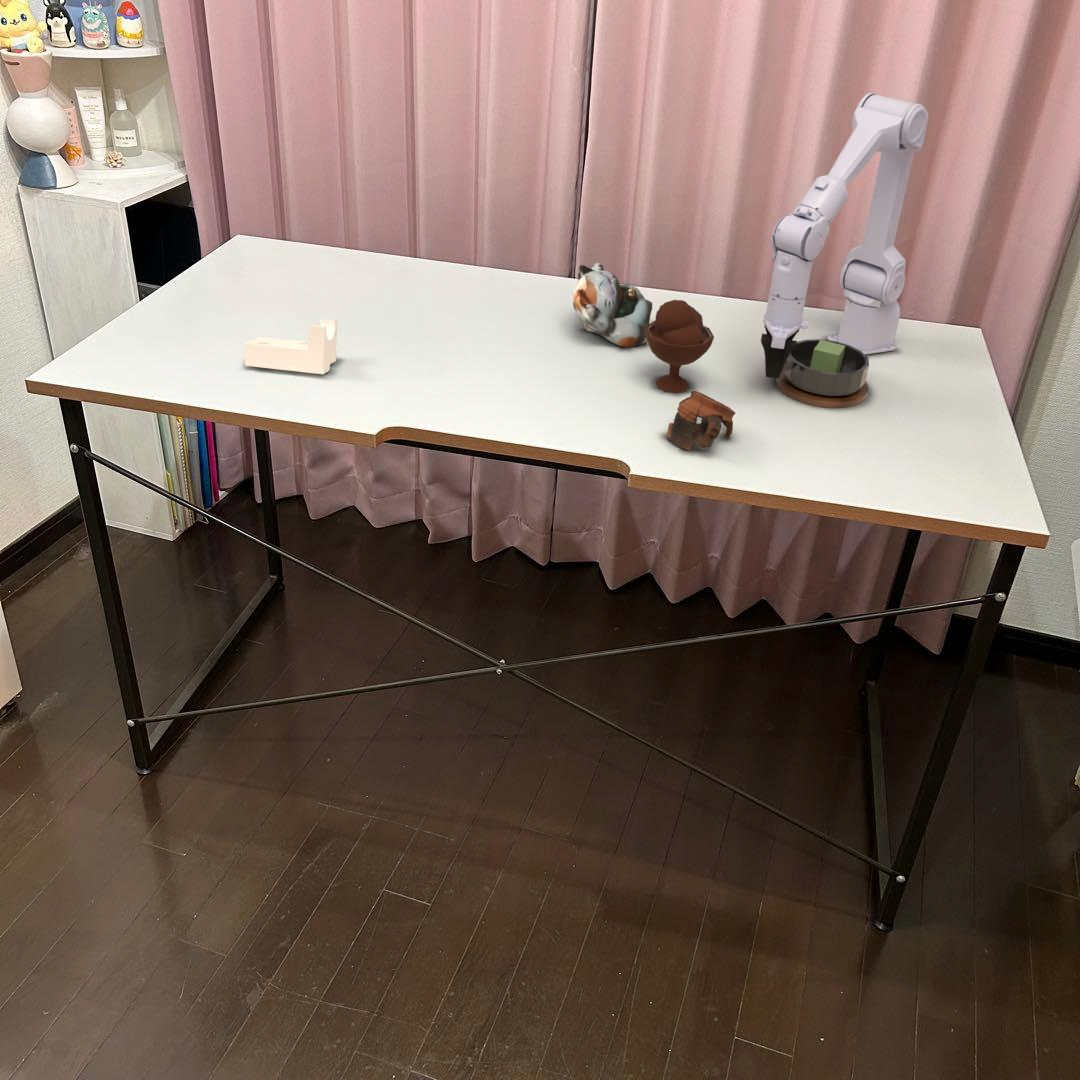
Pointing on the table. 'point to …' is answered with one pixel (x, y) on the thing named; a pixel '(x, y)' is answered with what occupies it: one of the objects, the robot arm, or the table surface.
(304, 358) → the bracket
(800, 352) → the grey frying pan
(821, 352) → the block
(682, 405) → the pottery mug
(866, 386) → the lazy susan
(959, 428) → the table surface
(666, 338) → the ice cream bowl
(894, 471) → the table surface
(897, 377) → the table surface
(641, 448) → the table surface
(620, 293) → the lucky cat figurine
